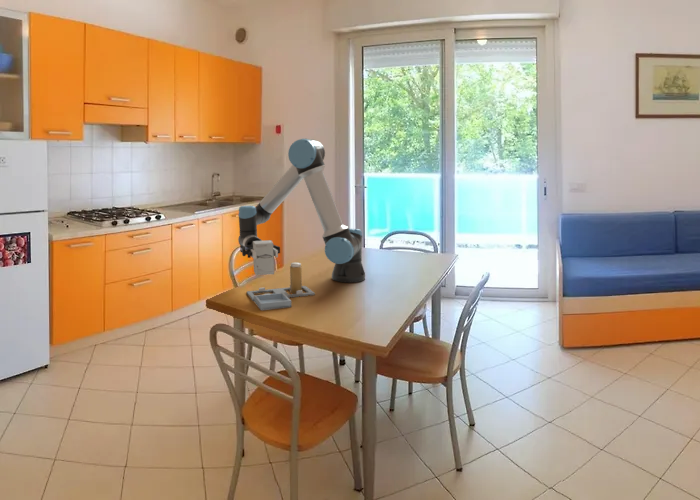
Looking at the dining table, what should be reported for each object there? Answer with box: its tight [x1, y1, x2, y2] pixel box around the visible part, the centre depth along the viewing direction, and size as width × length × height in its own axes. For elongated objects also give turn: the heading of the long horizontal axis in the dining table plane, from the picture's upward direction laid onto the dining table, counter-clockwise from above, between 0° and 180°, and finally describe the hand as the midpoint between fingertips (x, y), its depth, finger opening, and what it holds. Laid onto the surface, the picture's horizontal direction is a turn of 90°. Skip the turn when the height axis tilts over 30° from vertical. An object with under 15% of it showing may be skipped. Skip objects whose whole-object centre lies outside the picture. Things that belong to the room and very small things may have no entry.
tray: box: [253, 293, 292, 311], centre depth 194 cm, size 11×11×2 cm
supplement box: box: [253, 239, 275, 276], centre depth 203 cm, size 7×7×13 cm
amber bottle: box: [289, 262, 303, 294], centre depth 209 cm, size 5×5×12 cm
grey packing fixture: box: [246, 285, 316, 302], centre depth 208 cm, size 25×12×2 cm, turn 112°
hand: (266, 254), depth 198 cm, fingers closed on supplement box, 8 cm apart
